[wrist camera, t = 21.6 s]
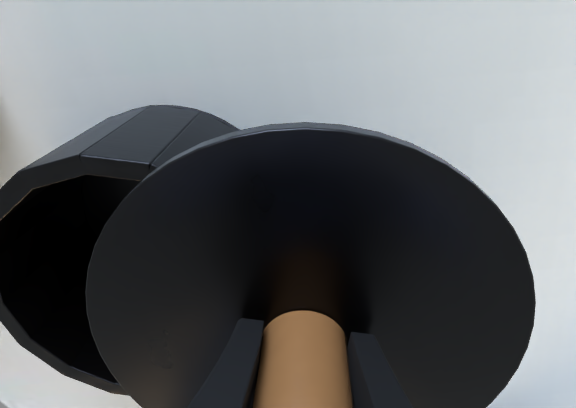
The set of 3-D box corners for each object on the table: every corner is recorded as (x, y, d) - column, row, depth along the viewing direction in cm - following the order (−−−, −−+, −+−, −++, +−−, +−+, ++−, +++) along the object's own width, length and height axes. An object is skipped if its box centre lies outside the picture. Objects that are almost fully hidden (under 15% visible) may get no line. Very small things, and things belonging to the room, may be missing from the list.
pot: (276, 305, 24) (264, 412, 18) (87, 283, 24) (10, 382, 18) (300, 120, 19) (295, 181, 12) (57, 90, 18) (-69, 136, 12)
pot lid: (442, 456, 15) (487, 610, 11) (119, 416, 15) (54, 558, 11) (598, 150, 9) (793, 253, 6) (78, 82, 9) (-83, 141, 6)
